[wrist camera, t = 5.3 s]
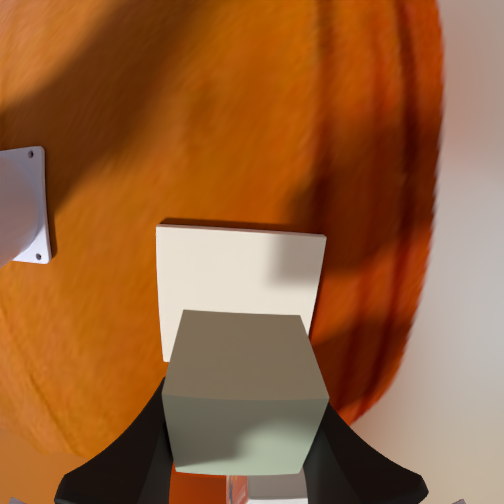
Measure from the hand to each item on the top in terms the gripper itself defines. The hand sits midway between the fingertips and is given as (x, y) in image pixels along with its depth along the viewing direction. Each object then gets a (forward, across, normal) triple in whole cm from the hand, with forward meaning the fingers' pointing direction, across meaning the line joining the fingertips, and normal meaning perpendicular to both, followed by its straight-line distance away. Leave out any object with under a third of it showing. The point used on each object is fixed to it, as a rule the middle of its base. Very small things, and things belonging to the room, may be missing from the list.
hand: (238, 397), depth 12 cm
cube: (+2, 0, -1) cm, 2 cm away
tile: (+8, 0, 0) cm, 8 cm away
